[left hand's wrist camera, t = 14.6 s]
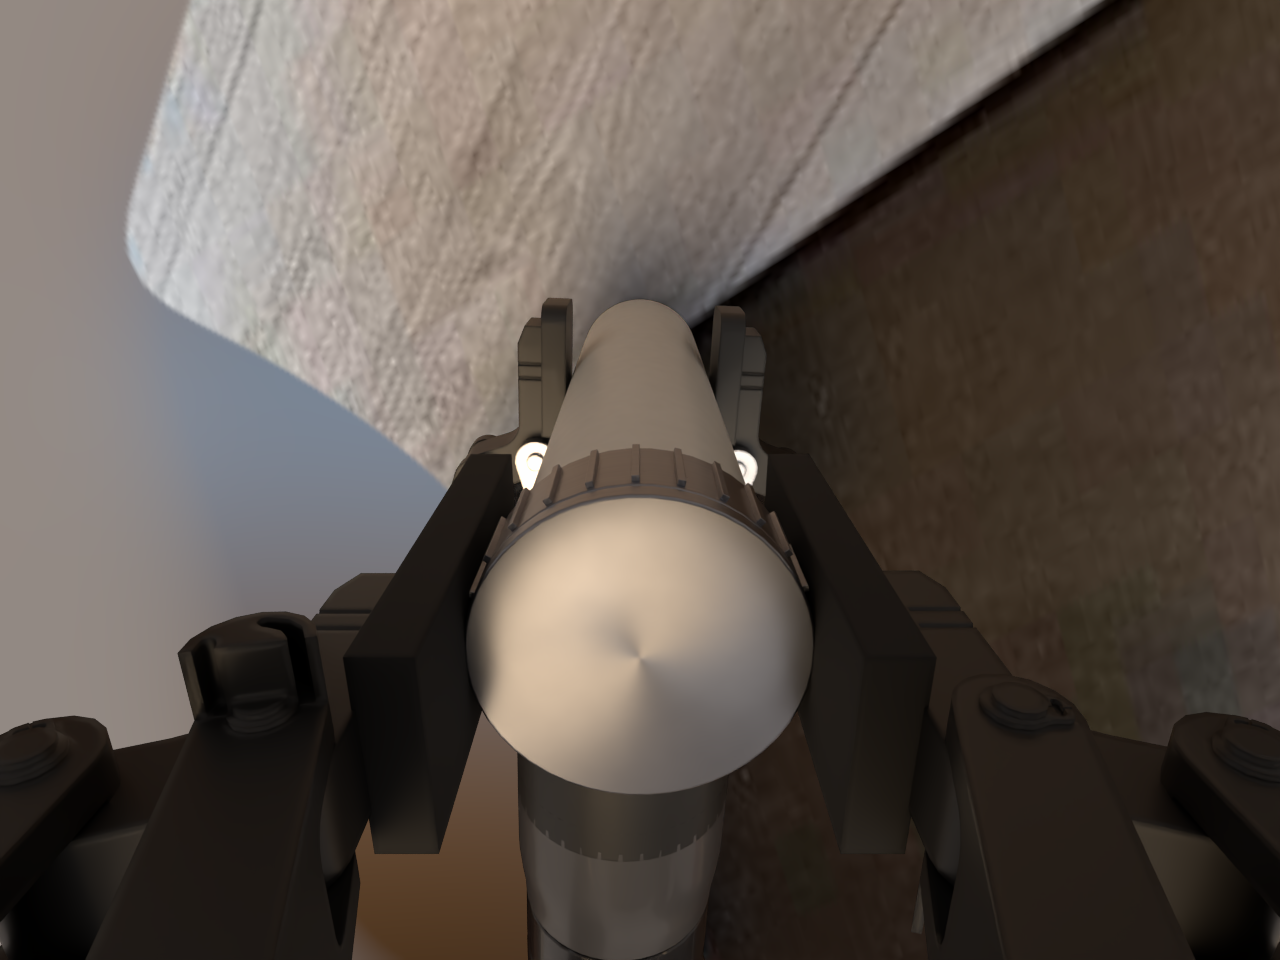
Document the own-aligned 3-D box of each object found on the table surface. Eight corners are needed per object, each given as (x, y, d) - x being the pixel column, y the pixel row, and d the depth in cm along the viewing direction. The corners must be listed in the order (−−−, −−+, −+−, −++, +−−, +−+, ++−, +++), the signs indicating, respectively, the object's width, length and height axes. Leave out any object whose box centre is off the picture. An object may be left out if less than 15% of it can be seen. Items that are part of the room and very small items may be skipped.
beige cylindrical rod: (561, 340, 29) (431, 591, 11) (656, 276, 28) (686, 433, 10) (624, 431, 30) (601, 790, 12) (717, 372, 29) (839, 664, 11)
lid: (625, 765, 13) (622, 853, 12) (418, 575, 12) (380, 641, 10) (857, 604, 12) (892, 674, 10) (656, 374, 11) (659, 410, 9)
